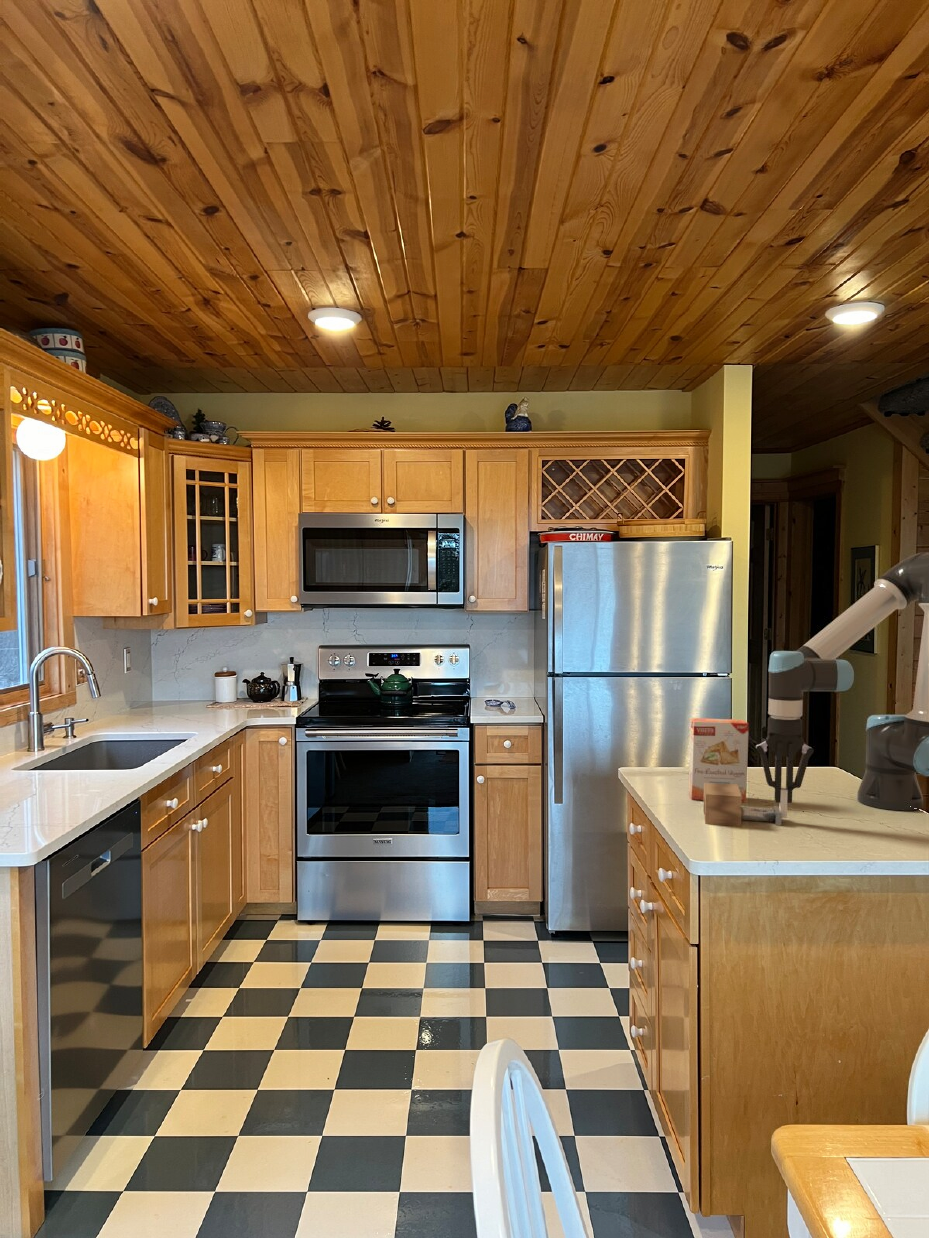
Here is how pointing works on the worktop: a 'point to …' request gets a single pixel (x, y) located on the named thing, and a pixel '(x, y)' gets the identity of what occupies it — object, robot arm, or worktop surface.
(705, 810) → the block
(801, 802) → the worktop surface
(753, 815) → the pin
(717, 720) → the cracker box
